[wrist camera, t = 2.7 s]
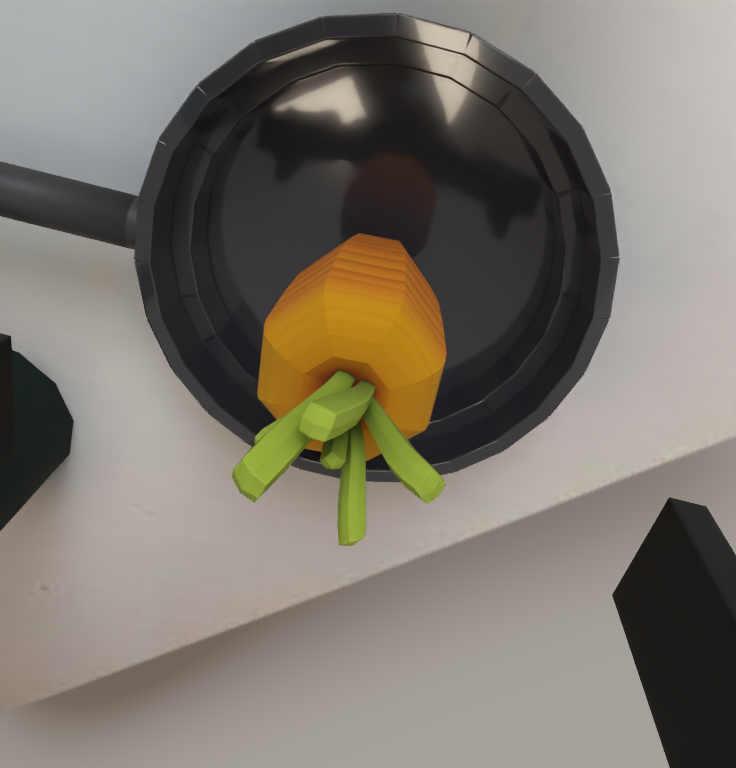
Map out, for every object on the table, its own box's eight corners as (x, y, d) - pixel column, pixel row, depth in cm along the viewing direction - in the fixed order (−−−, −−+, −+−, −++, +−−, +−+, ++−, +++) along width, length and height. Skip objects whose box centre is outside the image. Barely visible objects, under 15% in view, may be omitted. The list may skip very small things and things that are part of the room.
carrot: (466, 238, 24) (511, 468, 11) (395, 336, 27) (362, 624, 13) (357, 164, 23) (266, 321, 10) (292, 272, 26) (149, 515, 12)
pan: (198, -37, 21) (149, -54, 17) (663, 87, 22) (711, 96, 18) (163, 378, 29) (124, 428, 25) (507, 461, 29) (518, 521, 26)
